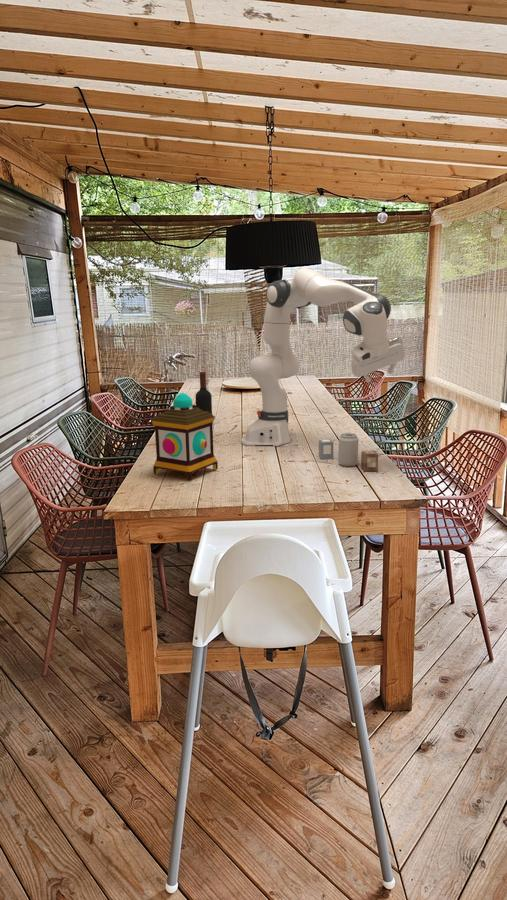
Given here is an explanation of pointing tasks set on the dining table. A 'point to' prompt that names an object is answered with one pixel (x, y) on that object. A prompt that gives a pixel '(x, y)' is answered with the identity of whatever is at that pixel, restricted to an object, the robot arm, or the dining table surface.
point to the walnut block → (369, 461)
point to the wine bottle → (204, 395)
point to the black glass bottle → (208, 390)
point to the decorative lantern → (184, 438)
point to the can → (348, 450)
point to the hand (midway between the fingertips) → (379, 377)
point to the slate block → (326, 449)
